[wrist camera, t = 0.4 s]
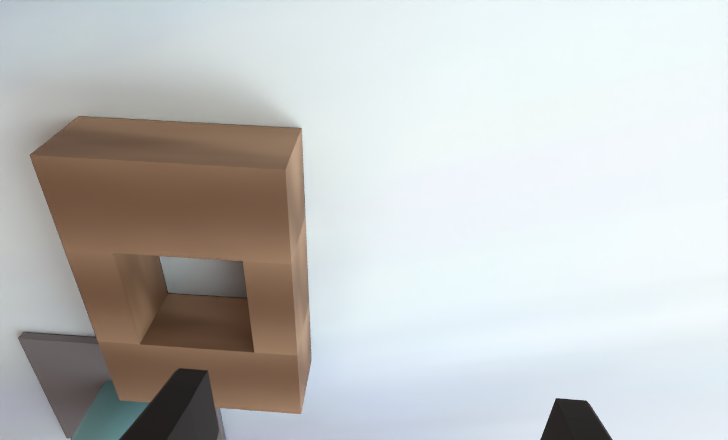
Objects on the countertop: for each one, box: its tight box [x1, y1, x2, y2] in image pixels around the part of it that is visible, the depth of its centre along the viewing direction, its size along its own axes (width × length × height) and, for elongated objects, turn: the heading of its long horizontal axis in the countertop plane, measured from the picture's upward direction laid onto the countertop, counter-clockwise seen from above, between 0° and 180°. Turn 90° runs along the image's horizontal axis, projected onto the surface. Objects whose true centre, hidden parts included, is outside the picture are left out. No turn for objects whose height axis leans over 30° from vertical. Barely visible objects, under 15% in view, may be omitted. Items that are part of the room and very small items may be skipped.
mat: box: [18, 332, 226, 440], centre depth 28 cm, size 8×9×1 cm
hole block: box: [30, 116, 311, 414], centre depth 21 cm, size 12×8×3 cm, turn 178°
